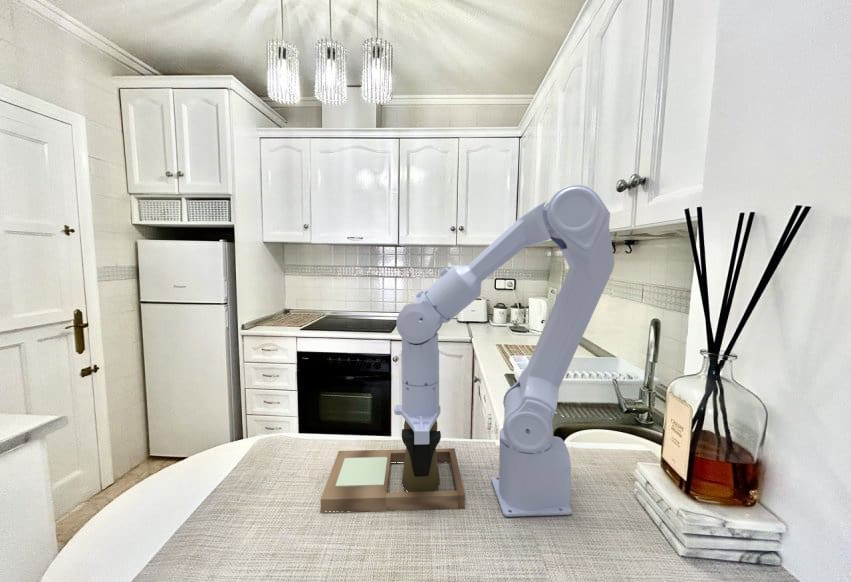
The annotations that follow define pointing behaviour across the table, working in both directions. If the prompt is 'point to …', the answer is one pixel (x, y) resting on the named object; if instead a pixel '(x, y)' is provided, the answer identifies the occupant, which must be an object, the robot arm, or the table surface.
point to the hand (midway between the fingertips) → (420, 464)
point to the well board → (384, 484)
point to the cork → (420, 483)
